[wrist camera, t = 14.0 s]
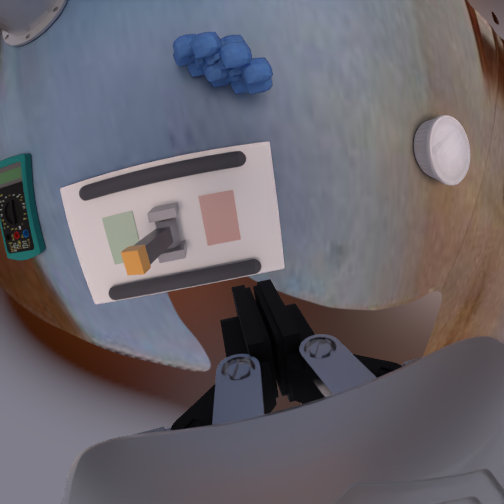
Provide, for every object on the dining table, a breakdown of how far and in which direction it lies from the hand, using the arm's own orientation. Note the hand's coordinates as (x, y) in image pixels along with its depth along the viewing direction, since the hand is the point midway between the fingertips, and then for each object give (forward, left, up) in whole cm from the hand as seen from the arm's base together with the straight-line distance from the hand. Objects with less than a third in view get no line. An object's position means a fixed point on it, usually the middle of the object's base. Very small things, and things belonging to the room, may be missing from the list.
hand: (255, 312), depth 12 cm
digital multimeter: (-7, -29, -26) cm, 39 cm away
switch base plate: (+1, -6, -25) cm, 26 cm away
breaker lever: (+1, -6, -21) cm, 22 cm away
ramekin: (-5, +36, -25) cm, 44 cm away
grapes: (-17, +3, -25) cm, 31 cm away
